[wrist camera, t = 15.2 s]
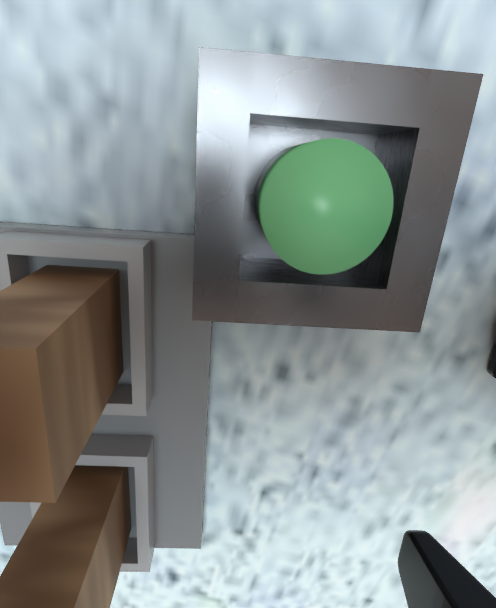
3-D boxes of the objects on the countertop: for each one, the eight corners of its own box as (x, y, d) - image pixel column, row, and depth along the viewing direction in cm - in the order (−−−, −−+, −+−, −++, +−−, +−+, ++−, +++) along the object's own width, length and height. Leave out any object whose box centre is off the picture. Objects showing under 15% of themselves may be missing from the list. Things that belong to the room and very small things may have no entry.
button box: (408, 100, 16) (483, 74, 11) (371, 288, 18) (419, 331, 14) (209, 82, 15) (199, 46, 10) (202, 278, 18) (192, 320, 13)
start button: (366, 147, 14) (406, 144, 11) (349, 253, 16) (379, 278, 12) (259, 139, 14) (267, 132, 11) (250, 247, 16) (255, 270, 12)
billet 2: (127, 456, 20) (71, 616, 13) (131, 527, 22) (83, 703, 15) (68, 454, 20) (-22, 616, 13) (76, 527, 22) (1, 704, 14)
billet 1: (119, 268, 17) (35, 348, 10) (123, 371, 18) (55, 503, 11) (47, 264, 16) (-93, 342, 9) (58, 368, 18) (-53, 500, 11)
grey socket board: (215, 235, 17) (212, 247, 15) (202, 532, 23) (198, 574, 21) (-43, 219, 17) (-88, 228, 14) (13, 529, 23) (-12, 571, 20)
